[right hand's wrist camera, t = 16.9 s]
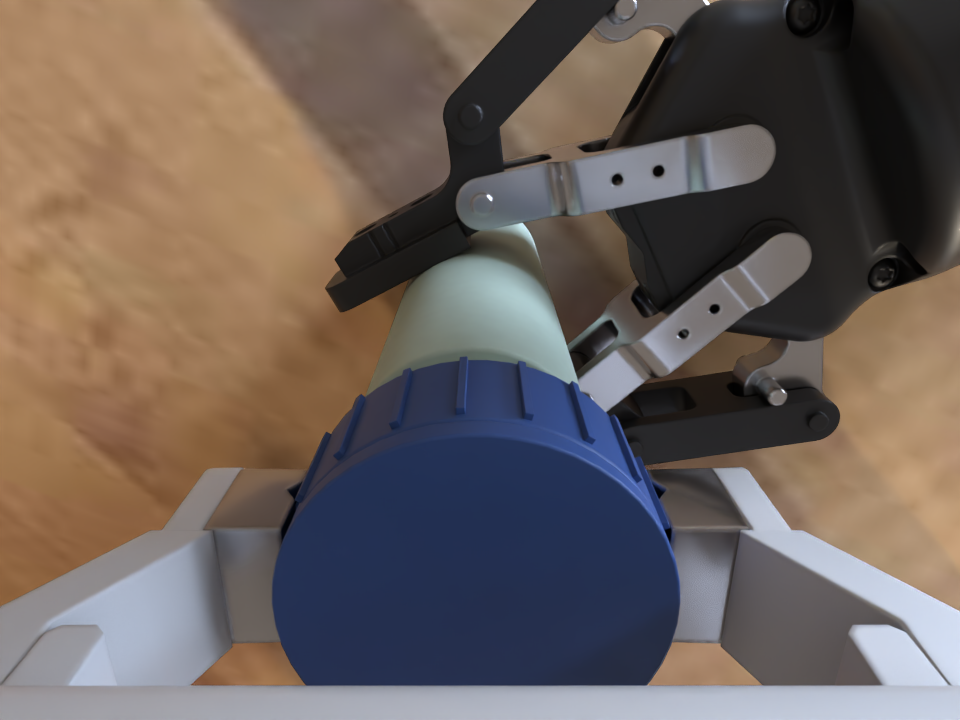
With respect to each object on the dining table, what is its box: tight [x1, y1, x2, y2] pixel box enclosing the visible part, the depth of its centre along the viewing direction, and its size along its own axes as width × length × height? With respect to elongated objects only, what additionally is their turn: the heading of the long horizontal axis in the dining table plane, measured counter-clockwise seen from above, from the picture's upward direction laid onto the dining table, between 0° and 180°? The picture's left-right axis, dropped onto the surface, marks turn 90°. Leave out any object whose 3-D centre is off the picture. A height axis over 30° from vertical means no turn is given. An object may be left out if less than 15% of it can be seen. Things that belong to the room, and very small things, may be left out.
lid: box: [272, 356, 681, 686], centre depth 9 cm, size 5×5×2 cm
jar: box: [365, 223, 581, 397], centre depth 16 cm, size 4×4×15 cm
